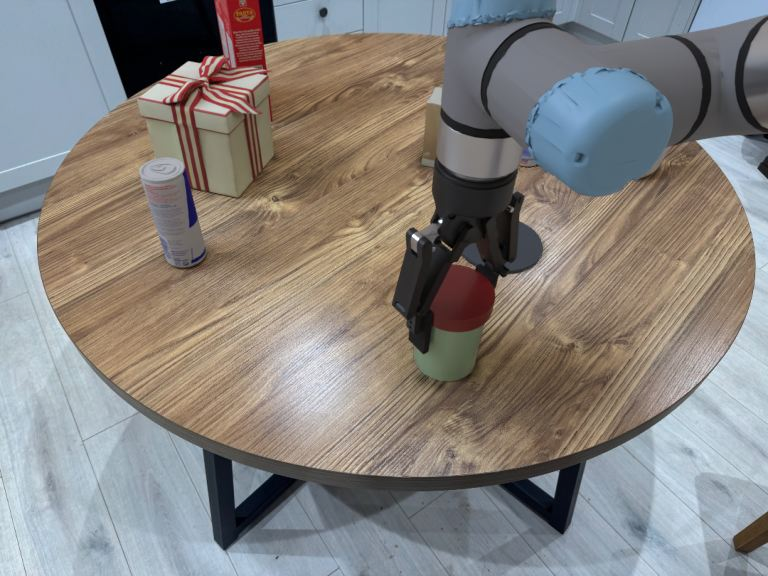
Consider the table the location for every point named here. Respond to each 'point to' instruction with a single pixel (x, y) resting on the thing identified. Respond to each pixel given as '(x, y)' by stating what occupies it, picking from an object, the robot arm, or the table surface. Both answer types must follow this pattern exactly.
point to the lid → (463, 300)
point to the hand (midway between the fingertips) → (449, 327)
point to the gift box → (212, 123)
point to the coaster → (526, 251)
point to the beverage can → (173, 211)
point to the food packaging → (241, 34)
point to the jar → (449, 354)
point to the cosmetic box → (431, 127)
